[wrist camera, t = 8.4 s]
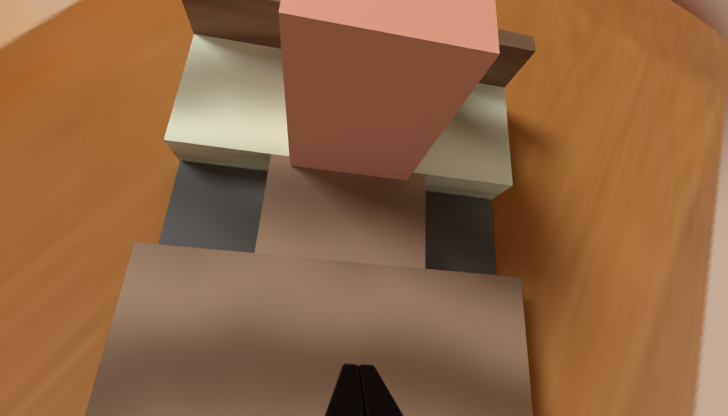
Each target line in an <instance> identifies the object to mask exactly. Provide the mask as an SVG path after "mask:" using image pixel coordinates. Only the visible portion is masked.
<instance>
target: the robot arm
mask: <svg viewBox="0 0 728 416" xmlns="http://www.w3.org/2000/svg"><path fill="white" fill-rule="evenodd" d="M325 416H404V415H403V414H402V412H401V410H400V409H399V407H398V405H397V403H396V402H395V400H394V398H393V397H392V395H391V393H390V391H389V390H388V388H387V386H386V385H385V383H384V381H383V380H382V378H381V376H380V374H379V373H378V371H377V369H376V368H375V366H374V365H370V364H360V365H359V366H358V365H357V364H352V363H344V364H343V365H342V368H341V371H340V373H339V376H338V379H337V382H336V385H335V388H334V390H333V393H332V396H331V399H330V402H329V405H328V407H327V410H326V413H325Z"/></svg>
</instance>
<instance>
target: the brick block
mask: <svg viewBox="0 0 728 416" xmlns="http://www.w3.org/2000/svg"><path fill="white" fill-rule="evenodd" d="M278 13H279V26H280V39H281V52H282V65H283V79H284V92H285V105H286V118H287V131H288V145H289V158H290V166H297V167H305V168H313V169H321V170H329V171H337V172H345V173H352V174H360V175H368V176H376V177H384V178H392V179H400V180H408V178H409V177H410V176H411V174H412V173H413V172H414V170H415V169H416V168H417V166H418V165H419V163H420V162H421V161H422V159H423V158H424V157H425V155H426V154H427V152H428V151H429V150H430V148H431V147H432V146H433V144H434V143H435V142H436V140H437V139H438V137H439V136H440V135H441V133H442V132H443V131H444V129H445V128H446V127H447V125H448V124H449V122H450V121H451V120H452V118H453V117H454V116H455V114H456V113H457V112H458V110H459V109H460V107H461V106H462V105H463V103H464V102H465V101H466V99H467V98H468V96H469V95H470V94H471V92H472V91H473V90H474V88H475V87H476V86H477V84H478V83H479V81H480V80H481V79H482V77H483V76H484V75H485V73H486V72H487V71H488V69H489V68H490V66H491V65H492V64H493V62H494V61H495V60H496V58H497V57H498V56H499V54H500V51H499V40H498V28H497V16H496V4H495V0H281V2H280V7H279V12H278Z"/></svg>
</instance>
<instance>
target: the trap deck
mask: <svg viewBox="0 0 728 416" xmlns="http://www.w3.org/2000/svg"><path fill="white" fill-rule="evenodd" d="M182 2H183V5H184V8H185V10H186V13H187V16H188V18H189V21H190V24H191V26H192V29H193V32H194V36H193V40H192V43H191V47H190V50H189V54H188V57H187V61H186V64H185V68H184V71H183V75H182V78H181V82H180V85H179V89H178V92H177V96H176V99H175V103H174V106H173V110H172V113H171V117H170V120H169V124H168V127H167V131H166V134H165V138H164V141H165V142H166V143H167V145H168V146H169V147H170V149H171V150H172V151H173V153H174V154H175V155H176V157H177V158H178V159H179V161H180V164H179V168H178V172H177V176H176V179H175V183H174V187H173V191H172V195H171V198H170V202H169V206H168V210H167V214H166V217H165V221H164V225H163V229H162V233H161V237H160V240H159V244H149V243H138V242H135V243H134V246H133V250H132V253H131V257H130V260H129V264H128V267H127V271H126V274H125V278H124V281H123V285H122V288H121V292H120V295H119V299H118V302H117V306H116V309H115V313H114V316H113V320H112V323H111V327H110V330H109V334H108V337H107V341H106V344H105V348H104V351H103V355H102V358H101V362H100V365H99V369H98V372H97V376H96V379H95V383H94V386H93V390H92V393H91V397H90V400H89V404H88V407H87V411H86V414H85V416H325V413H326V410H327V407H328V405H329V402H330V399H331V396H332V393H333V390H334V388H335V385H336V382H337V379H338V376H339V373H340V371H341V368H342V365H343V364H344V363H352V364H357V365H358V366H359V365H360V364H370V365H374V366H375V368H376V369H377V371H378V373H379V374H380V376H381V378H382V380H383V381H384V383H385V385H386V386H387V388H388V390H389V391H390V393H391V395H392V397H393V398H394V400H395V402H396V403H397V405H398V407H399V409H400V410H401V412H402V414H403V415H404V416H533V410H532V398H531V387H530V376H529V364H528V353H527V341H526V330H525V318H524V307H523V295H522V284H521V277H511V276H500V275H496V259H495V244H494V228H493V213H492V199H493V198H495V197H496V196H498V195H499V194H501V193H502V192H504V191H505V190H507V189H508V188H510V187H511V186H513V181H512V170H511V158H510V147H509V135H508V124H507V112H506V101H505V89H504V87H505V86H506V85H507V84H508V83H509V81H510V80H511V79H512V78H513V77H514V76H515V74H516V73H517V72H518V71H519V70H520V69H521V67H522V66H523V65H524V64H525V63H526V62H527V60H528V59H529V58H530V57H531V56H532V55H533V53H534V52H535V44H534V37H533V36H528V35H523V34H518V33H513V32H508V31H503V30H498V40H499V51H500V54H499V56H498V57H497V58H496V60H495V61H494V62H493V64H492V65H491V66H490V68H489V69H488V71H487V72H486V73H485V75H484V76H483V77H482V79H481V80H480V81H479V83H478V84H477V86H476V87H475V88H474V90H473V91H472V92H471V94H470V95H469V96H468V98H467V99H466V101H465V102H464V103H463V105H462V106H461V107H460V109H459V110H458V112H457V113H456V114H455V116H454V117H453V118H452V120H451V121H450V122H449V124H448V125H447V127H446V128H445V129H444V131H443V132H442V133H441V135H440V136H439V137H438V139H437V140H436V142H435V143H434V144H433V146H432V147H431V148H430V150H429V151H428V152H427V154H426V155H425V157H424V158H423V159H422V161H421V162H420V163H419V165H418V166H417V168H416V169H415V170H414V172H413V173H412V174H411V176H410V177H409V178H408V180H400V179H392V178H384V177H376V176H368V175H360V174H352V173H345V172H337V171H329V170H321V169H313V168H305V167H297V166H290V158H289V145H288V131H287V118H286V105H285V92H284V79H283V65H282V52H281V39H280V26H279V13H278V12H279V7H280V2H281V0H182Z"/></svg>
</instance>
